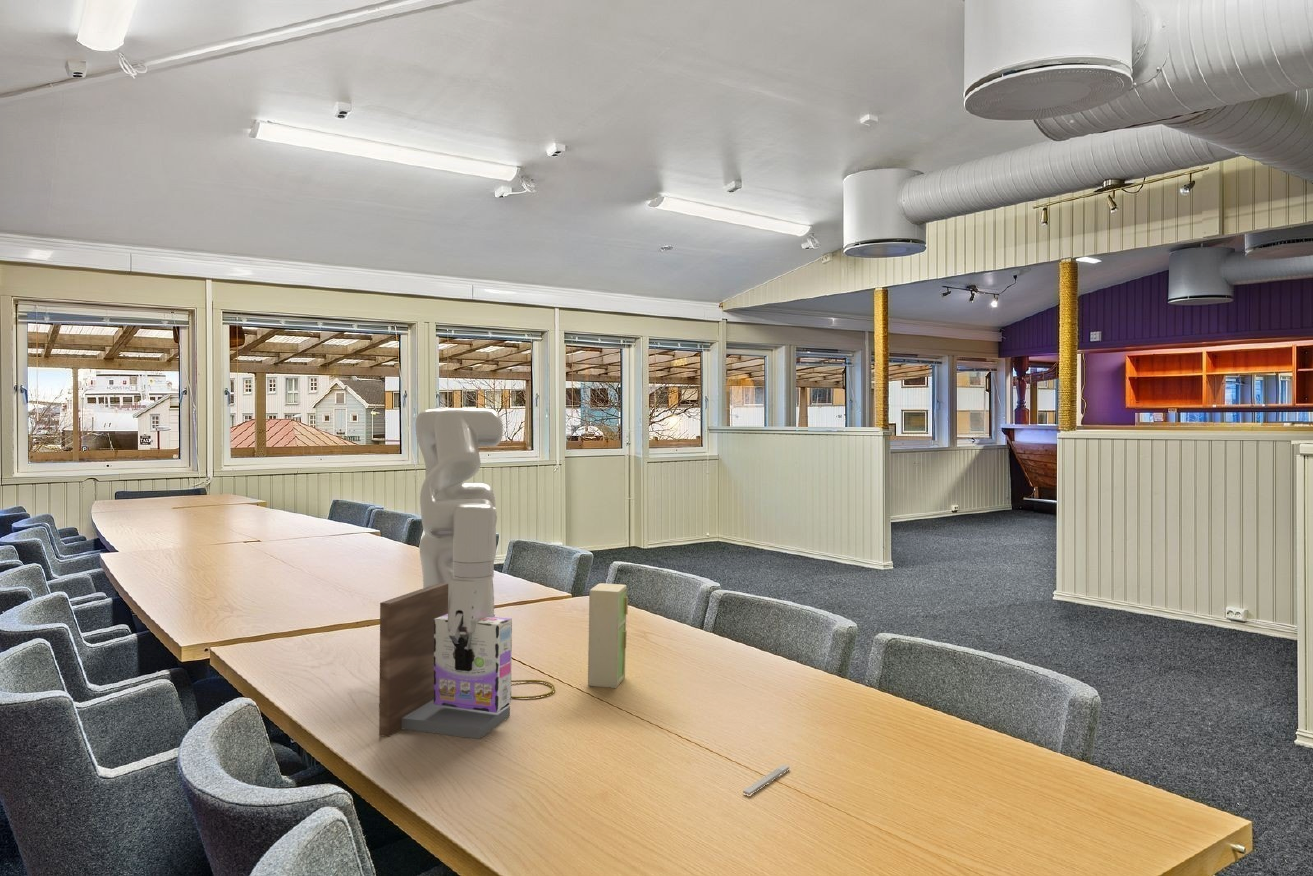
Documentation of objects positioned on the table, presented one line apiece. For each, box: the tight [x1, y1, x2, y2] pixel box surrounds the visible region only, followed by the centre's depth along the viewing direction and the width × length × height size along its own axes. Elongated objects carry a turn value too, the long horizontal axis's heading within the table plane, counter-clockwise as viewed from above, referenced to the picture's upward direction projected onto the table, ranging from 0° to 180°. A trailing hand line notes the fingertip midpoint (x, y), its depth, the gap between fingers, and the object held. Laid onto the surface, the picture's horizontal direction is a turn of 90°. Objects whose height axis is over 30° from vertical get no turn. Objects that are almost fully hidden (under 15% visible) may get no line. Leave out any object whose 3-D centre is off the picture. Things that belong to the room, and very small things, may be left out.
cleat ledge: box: [401, 699, 511, 740], centre depth 153 cm, size 16×12×2 cm
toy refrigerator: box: [587, 582, 629, 689], centre depth 178 cm, size 8×7×21 cm
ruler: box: [742, 764, 790, 795], centre depth 128 cm, size 12×1×1 cm, turn 142°
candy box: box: [433, 614, 513, 713], centre depth 152 cm, size 14×6×16 cm, turn 71°
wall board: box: [378, 583, 448, 737], centre depth 155 cm, size 2×20×24 cm, turn 164°
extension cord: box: [511, 679, 556, 698], centre depth 172 cm, size 12×16×2 cm
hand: (472, 664), depth 152 cm, fingers closed on candy box, 6 cm apart
